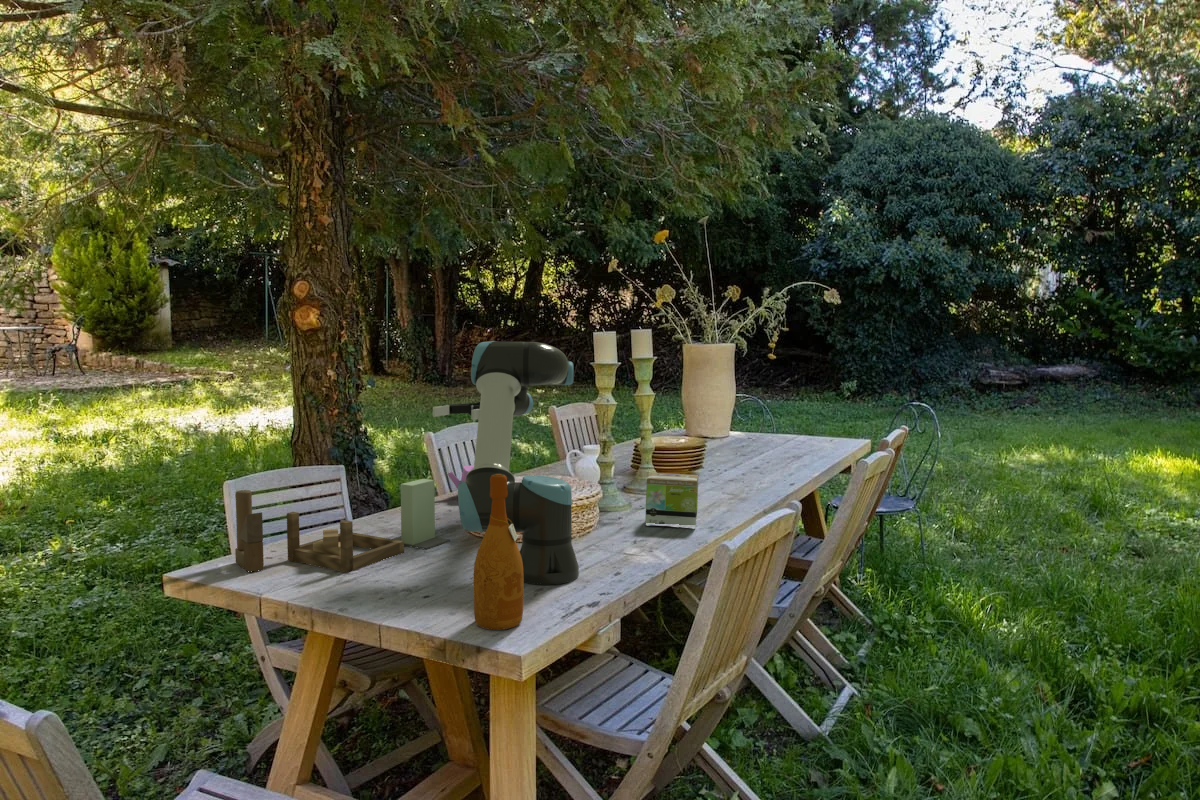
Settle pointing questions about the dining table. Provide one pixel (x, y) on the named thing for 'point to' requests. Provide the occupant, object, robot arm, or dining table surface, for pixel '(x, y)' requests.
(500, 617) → the wine bottle
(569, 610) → the dining table surface
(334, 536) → the walnut offcut
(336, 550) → the oak offcut
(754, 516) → the dining table surface
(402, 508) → the sage block
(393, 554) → the rack
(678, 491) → the tea box
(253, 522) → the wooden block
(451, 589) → the dining table surface
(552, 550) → the robot arm
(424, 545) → the felt mat
